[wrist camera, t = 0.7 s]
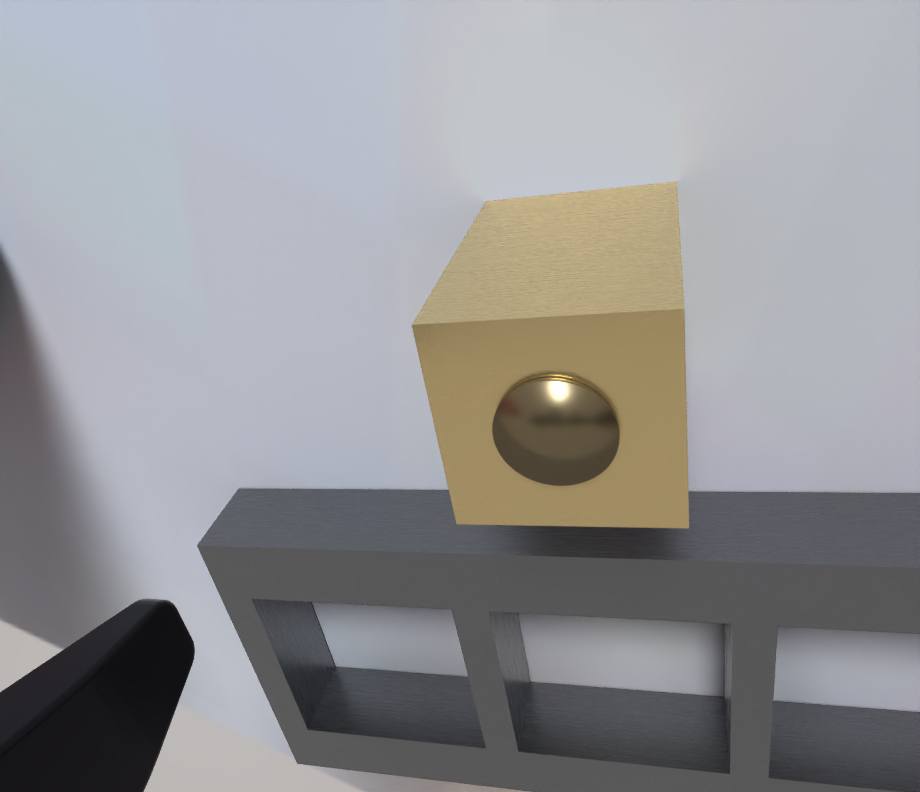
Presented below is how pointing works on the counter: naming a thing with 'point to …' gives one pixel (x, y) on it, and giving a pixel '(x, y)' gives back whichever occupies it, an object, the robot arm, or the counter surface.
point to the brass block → (563, 362)
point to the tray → (578, 594)
